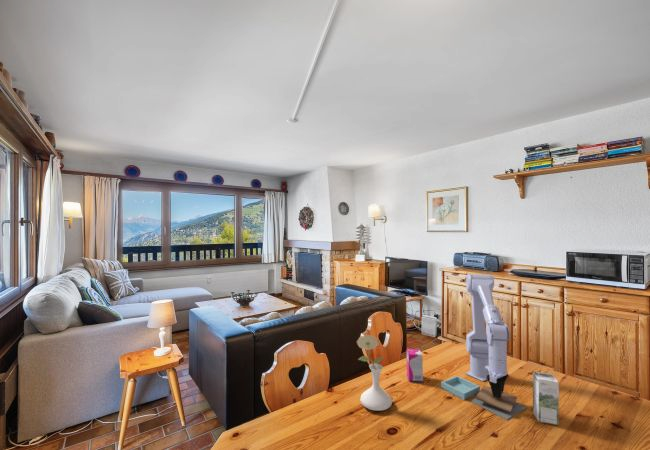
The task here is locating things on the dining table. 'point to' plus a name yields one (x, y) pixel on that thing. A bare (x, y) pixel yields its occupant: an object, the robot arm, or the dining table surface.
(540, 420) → the syrup box
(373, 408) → the flower in vase
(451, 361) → the dining table surface
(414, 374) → the supplement box
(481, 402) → the mat
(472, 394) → the dish
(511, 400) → the lid
